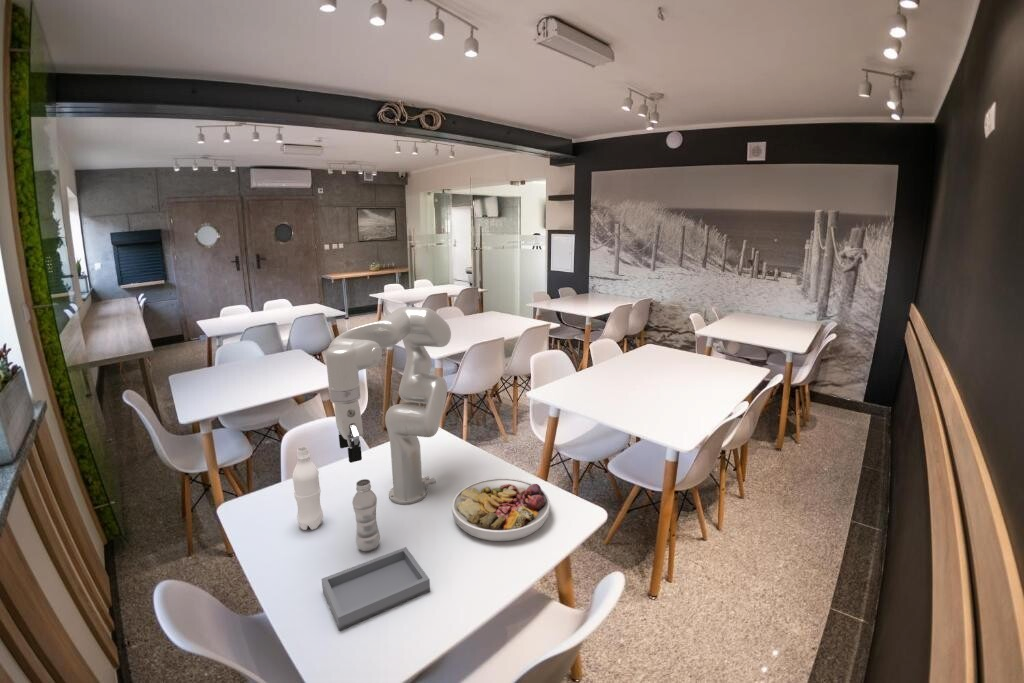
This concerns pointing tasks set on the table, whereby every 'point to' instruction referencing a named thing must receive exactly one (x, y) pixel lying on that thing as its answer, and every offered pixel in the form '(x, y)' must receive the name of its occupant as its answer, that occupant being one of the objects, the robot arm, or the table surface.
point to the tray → (374, 587)
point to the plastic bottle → (366, 516)
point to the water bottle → (307, 491)
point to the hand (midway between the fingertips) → (350, 453)
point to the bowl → (501, 509)
